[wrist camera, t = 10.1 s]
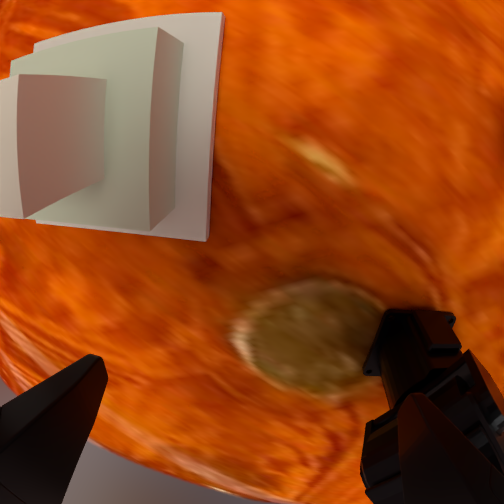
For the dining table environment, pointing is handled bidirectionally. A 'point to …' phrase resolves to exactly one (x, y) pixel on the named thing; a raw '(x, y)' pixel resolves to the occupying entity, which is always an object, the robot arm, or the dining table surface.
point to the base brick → (123, 125)
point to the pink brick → (49, 139)
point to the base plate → (179, 116)
